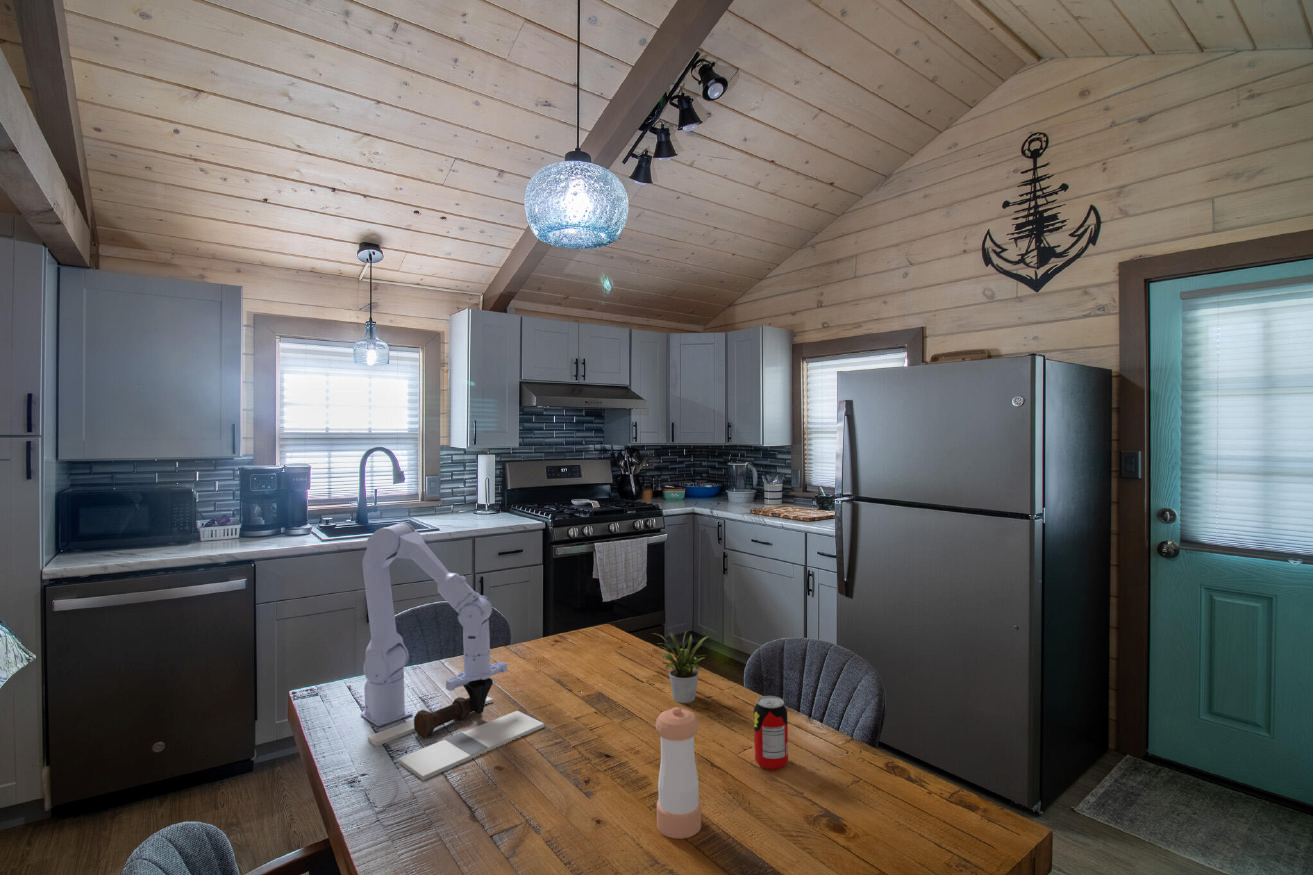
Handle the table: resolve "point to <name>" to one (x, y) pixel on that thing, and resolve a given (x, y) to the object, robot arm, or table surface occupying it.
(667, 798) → the pepper shaker
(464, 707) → the bolt
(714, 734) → the table surface
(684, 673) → the house plant
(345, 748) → the table surface
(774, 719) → the beverage can
